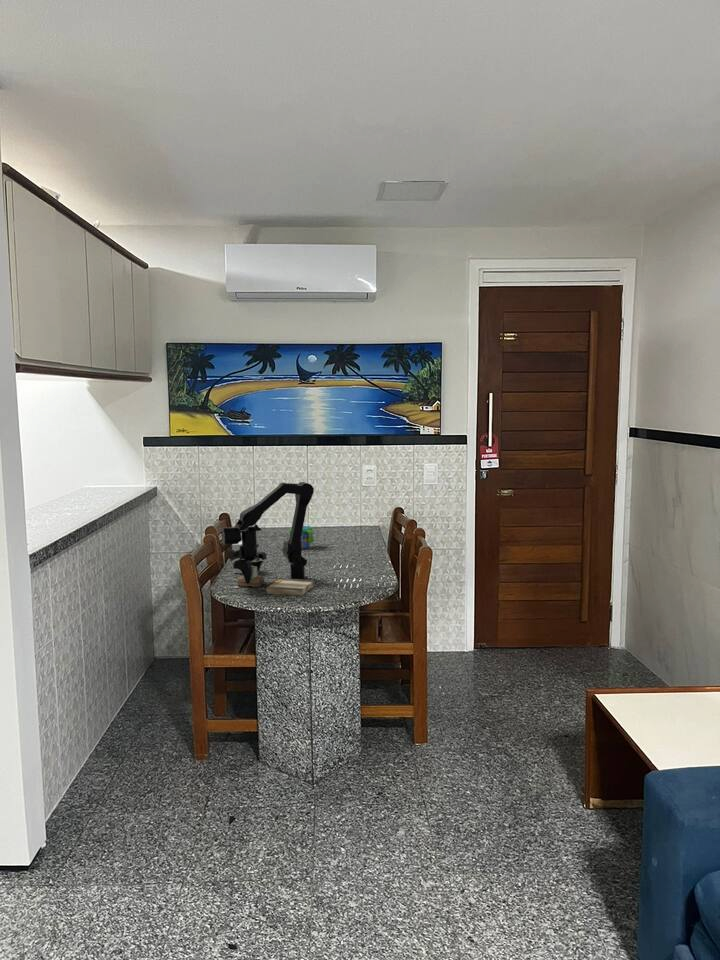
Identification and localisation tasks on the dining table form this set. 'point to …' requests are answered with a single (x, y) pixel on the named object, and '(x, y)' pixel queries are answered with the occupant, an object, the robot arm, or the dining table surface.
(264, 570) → the dining table surface
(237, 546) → the supplement box
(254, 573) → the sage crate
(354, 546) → the dining table surface
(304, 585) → the birch dock
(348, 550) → the dining table surface
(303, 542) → the snack cup
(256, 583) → the walnut pallet
